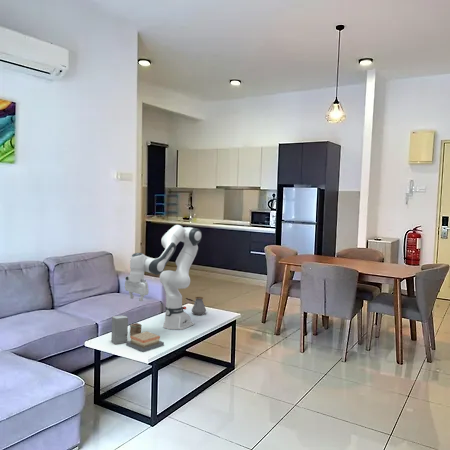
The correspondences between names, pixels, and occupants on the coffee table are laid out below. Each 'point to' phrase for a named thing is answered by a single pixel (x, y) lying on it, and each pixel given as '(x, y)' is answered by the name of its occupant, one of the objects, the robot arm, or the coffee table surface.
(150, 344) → the stand
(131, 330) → the walnut column
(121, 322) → the skincare box
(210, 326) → the coffee table surface
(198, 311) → the coffee pot
